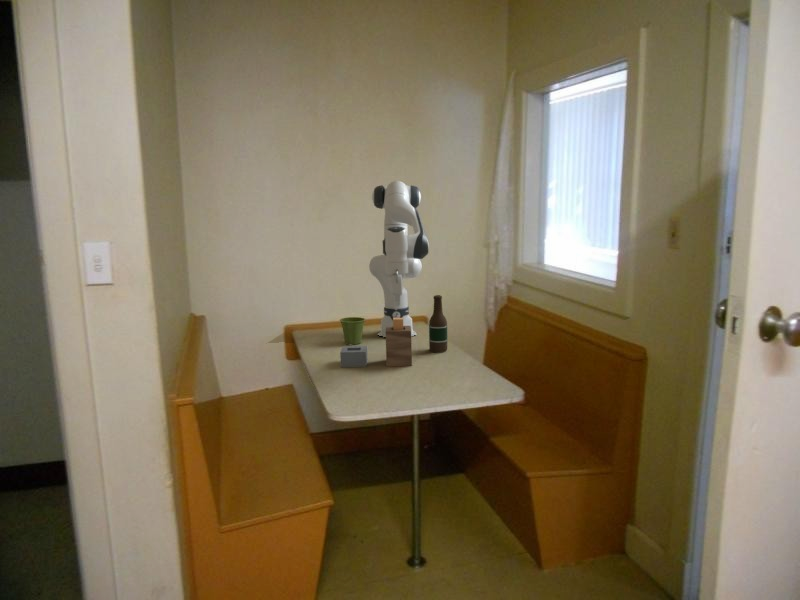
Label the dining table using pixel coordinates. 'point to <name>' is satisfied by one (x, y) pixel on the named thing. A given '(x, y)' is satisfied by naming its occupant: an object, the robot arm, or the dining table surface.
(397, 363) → the wood block with hole
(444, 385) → the dining table surface
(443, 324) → the beer bottle
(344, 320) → the plant pot
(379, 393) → the dining table surface
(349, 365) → the low socket
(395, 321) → the peg
